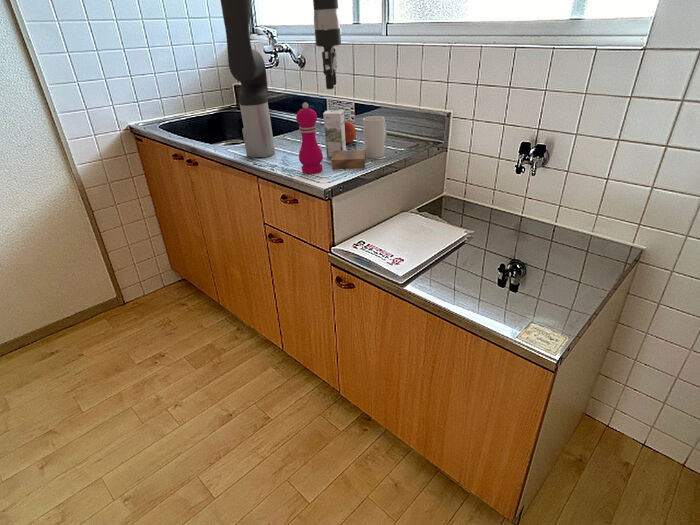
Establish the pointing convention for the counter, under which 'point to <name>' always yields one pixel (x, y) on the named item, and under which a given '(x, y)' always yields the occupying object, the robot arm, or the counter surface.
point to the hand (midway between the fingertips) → (331, 86)
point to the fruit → (349, 132)
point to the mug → (374, 136)
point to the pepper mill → (309, 141)
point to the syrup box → (334, 131)
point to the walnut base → (349, 159)
